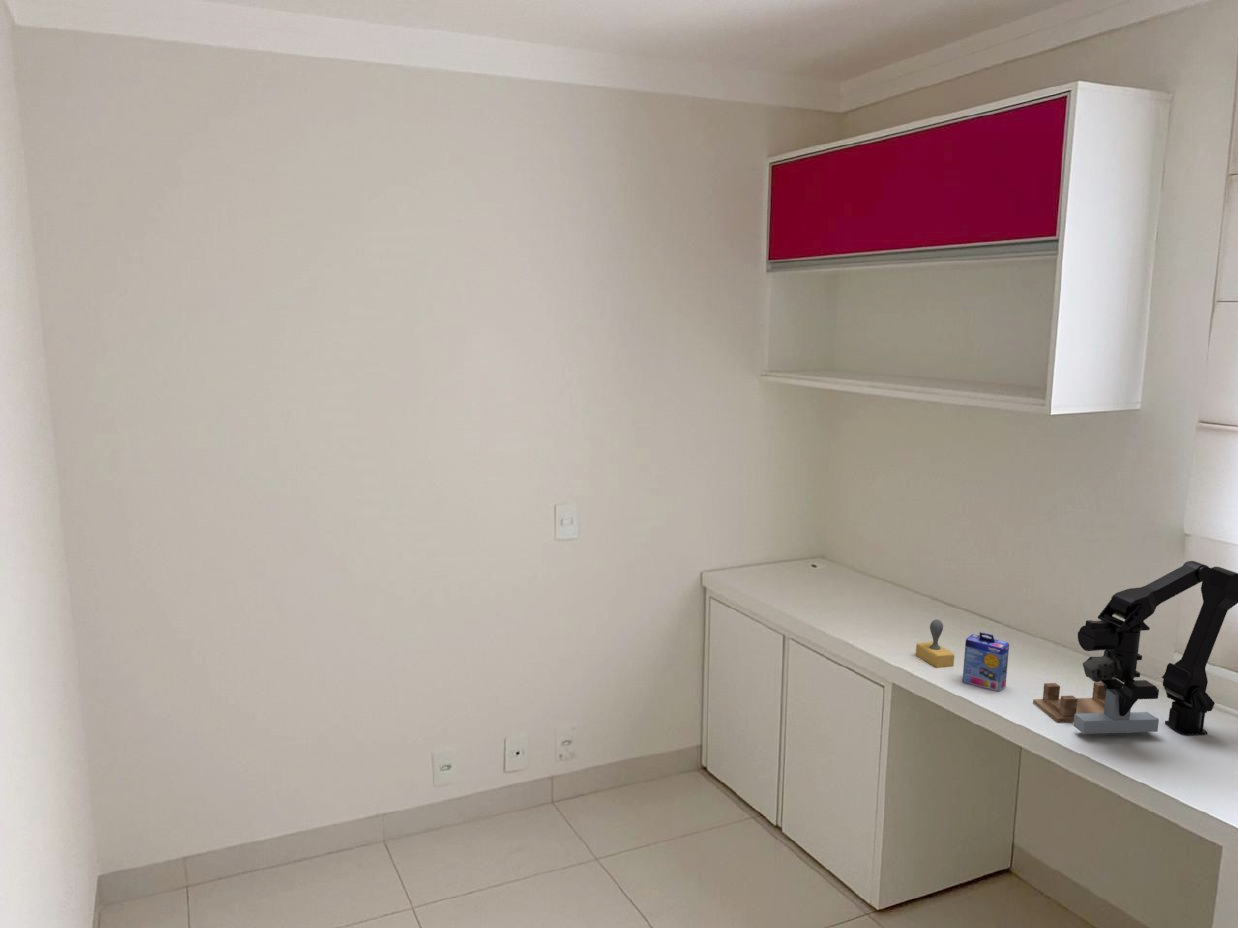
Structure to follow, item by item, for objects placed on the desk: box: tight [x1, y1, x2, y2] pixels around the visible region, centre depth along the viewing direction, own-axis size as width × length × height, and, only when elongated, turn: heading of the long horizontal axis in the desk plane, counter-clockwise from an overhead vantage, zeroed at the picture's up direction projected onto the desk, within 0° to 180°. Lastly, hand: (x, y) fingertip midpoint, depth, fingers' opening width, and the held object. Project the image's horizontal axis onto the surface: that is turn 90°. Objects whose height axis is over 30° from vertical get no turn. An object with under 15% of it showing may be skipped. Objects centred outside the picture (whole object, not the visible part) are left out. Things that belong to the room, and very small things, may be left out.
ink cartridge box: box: [961, 631, 1010, 693], centre depth 242 cm, size 10×6×14 cm, turn 51°
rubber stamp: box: [915, 619, 955, 669], centre depth 258 cm, size 10×6×12 cm, turn 17°
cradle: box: [1032, 681, 1106, 723], centre depth 227 cm, size 20×11×6 cm, turn 95°
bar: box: [1073, 689, 1160, 734], centre depth 214 cm, size 18×4×9 cm, turn 95°
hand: (1117, 712), depth 214 cm, fingers closed on bar, 3 cm apart
